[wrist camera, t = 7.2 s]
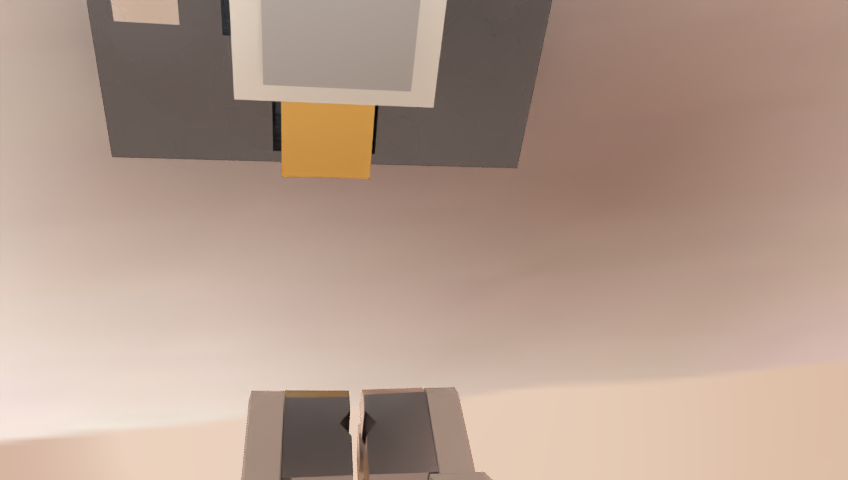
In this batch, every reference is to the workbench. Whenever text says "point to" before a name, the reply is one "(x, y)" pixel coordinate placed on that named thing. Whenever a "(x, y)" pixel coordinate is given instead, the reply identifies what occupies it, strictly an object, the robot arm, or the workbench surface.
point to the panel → (261, 120)
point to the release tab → (326, 140)
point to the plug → (337, 51)
